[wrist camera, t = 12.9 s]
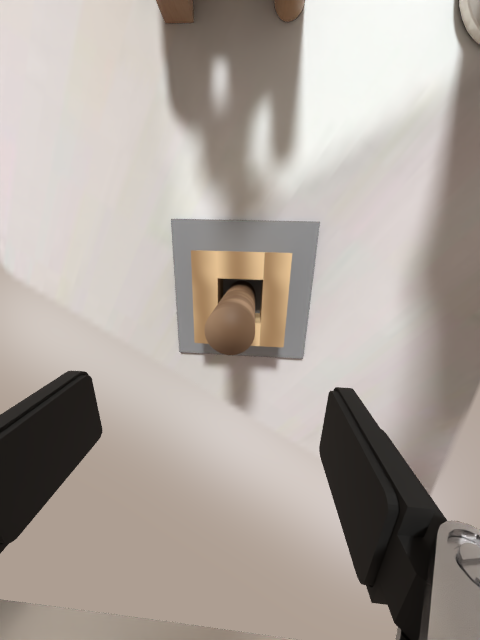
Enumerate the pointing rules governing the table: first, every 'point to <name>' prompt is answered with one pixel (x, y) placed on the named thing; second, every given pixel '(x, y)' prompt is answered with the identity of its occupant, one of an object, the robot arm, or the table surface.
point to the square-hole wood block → (243, 265)
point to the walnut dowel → (233, 320)
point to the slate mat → (247, 238)
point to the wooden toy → (179, 9)
